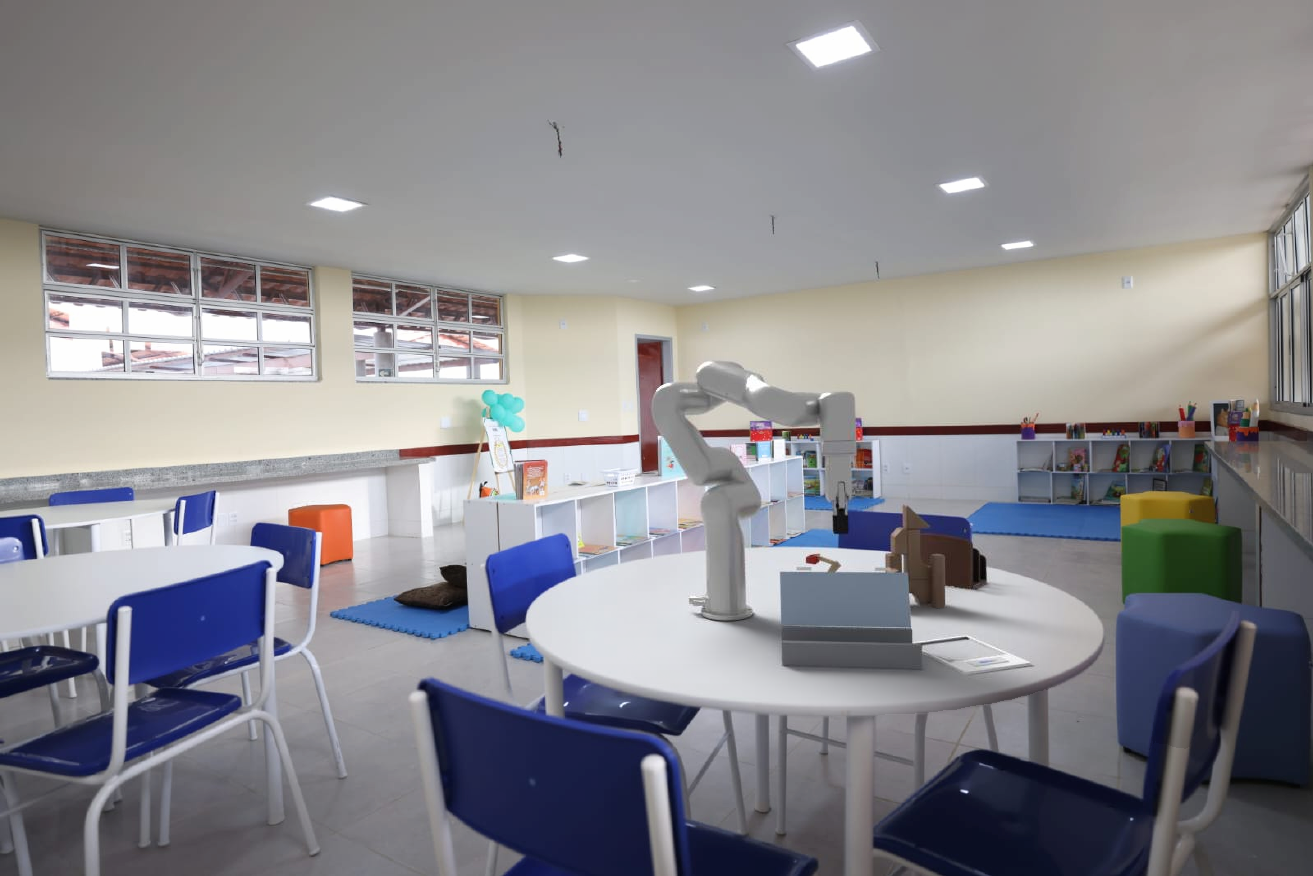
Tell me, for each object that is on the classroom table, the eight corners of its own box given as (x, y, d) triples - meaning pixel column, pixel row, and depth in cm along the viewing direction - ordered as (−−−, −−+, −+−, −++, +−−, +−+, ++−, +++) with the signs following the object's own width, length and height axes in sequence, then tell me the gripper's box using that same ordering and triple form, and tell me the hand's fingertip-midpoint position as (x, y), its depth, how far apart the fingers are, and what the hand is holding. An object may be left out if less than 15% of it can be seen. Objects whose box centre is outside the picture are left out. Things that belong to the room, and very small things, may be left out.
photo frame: (965, 671, 134) (906, 642, 151) (965, 677, 134) (906, 647, 151) (1030, 661, 137) (966, 634, 155) (1031, 667, 138) (966, 639, 155)
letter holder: (972, 590, 194) (971, 538, 193) (902, 579, 208) (901, 530, 208) (987, 583, 201) (986, 533, 200) (918, 573, 215) (918, 526, 215)
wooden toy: (886, 611, 176) (884, 508, 176) (875, 604, 183) (874, 505, 182) (947, 608, 178) (946, 506, 177) (935, 601, 184) (933, 502, 183)
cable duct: (782, 665, 141) (781, 642, 141) (781, 647, 152) (781, 625, 152) (922, 669, 137) (922, 645, 137) (911, 650, 148) (911, 628, 148)
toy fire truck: (855, 595, 192) (854, 559, 192) (806, 589, 199) (805, 554, 199) (859, 592, 195) (858, 556, 194) (810, 587, 202) (809, 552, 202)
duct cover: (779, 567, 153) (779, 567, 155) (781, 625, 151) (781, 625, 153) (908, 567, 149) (906, 568, 151) (912, 628, 147) (910, 627, 149)
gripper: (818, 447, 165) (820, 528, 166) (822, 451, 150) (825, 539, 151) (852, 446, 164) (854, 527, 165) (860, 450, 149) (862, 539, 150)
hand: (840, 533), depth 158 cm, fingers closed
